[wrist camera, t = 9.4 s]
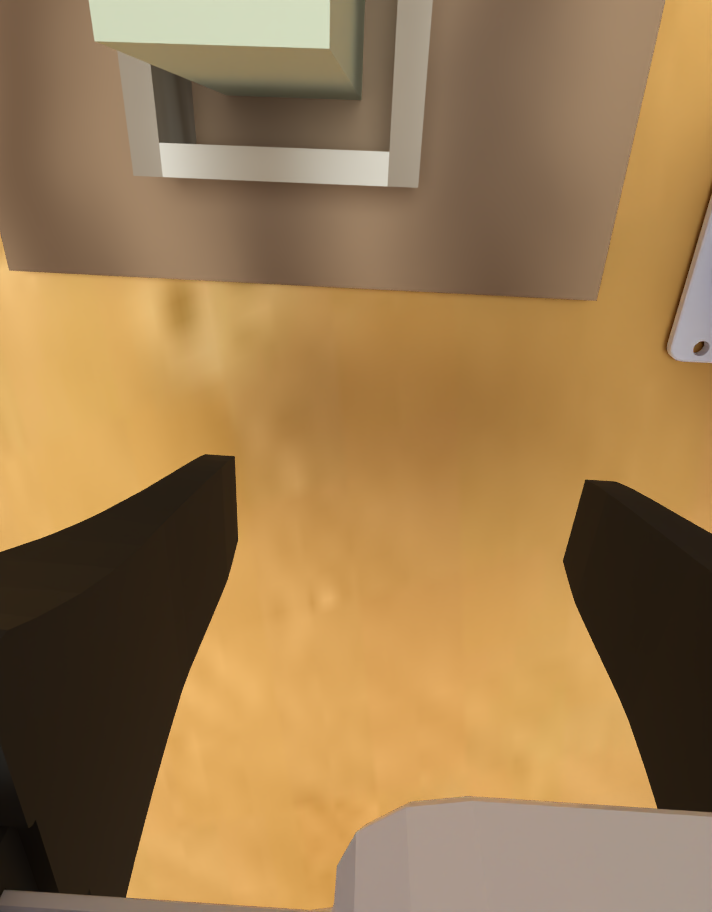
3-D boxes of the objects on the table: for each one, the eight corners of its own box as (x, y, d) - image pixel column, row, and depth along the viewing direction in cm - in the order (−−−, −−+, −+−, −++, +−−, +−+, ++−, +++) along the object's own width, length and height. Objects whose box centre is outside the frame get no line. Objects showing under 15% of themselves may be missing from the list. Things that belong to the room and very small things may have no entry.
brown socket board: (724, -326, 13) (846, -514, 9) (587, 294, 19) (628, 323, 16) (-106, -323, 14) (-279, -490, 10) (26, 265, 20) (-54, 286, 17)
